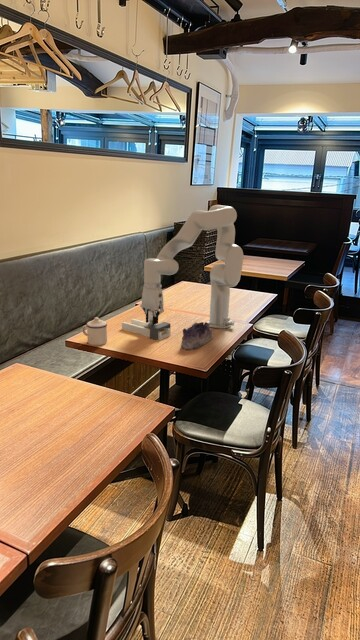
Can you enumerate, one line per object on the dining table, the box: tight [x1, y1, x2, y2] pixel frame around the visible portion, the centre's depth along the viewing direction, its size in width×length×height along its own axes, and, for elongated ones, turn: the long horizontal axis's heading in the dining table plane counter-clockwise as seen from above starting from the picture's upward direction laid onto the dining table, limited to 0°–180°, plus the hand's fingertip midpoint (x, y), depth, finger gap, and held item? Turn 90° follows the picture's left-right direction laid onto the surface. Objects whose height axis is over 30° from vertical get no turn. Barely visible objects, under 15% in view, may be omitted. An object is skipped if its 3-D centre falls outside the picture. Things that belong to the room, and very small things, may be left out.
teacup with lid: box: [81, 316, 108, 346], centre depth 203 cm, size 12×9×12 cm
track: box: [121, 318, 171, 341], centre depth 218 cm, size 24×10×6 cm, turn 54°
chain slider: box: [144, 309, 165, 333], centre depth 214 cm, size 10×5×10 cm, turn 54°
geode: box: [180, 321, 214, 351], centre depth 205 cm, size 20×12×10 cm, turn 154°
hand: (151, 322), depth 215 cm, fingers closed on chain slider, 3 cm apart
